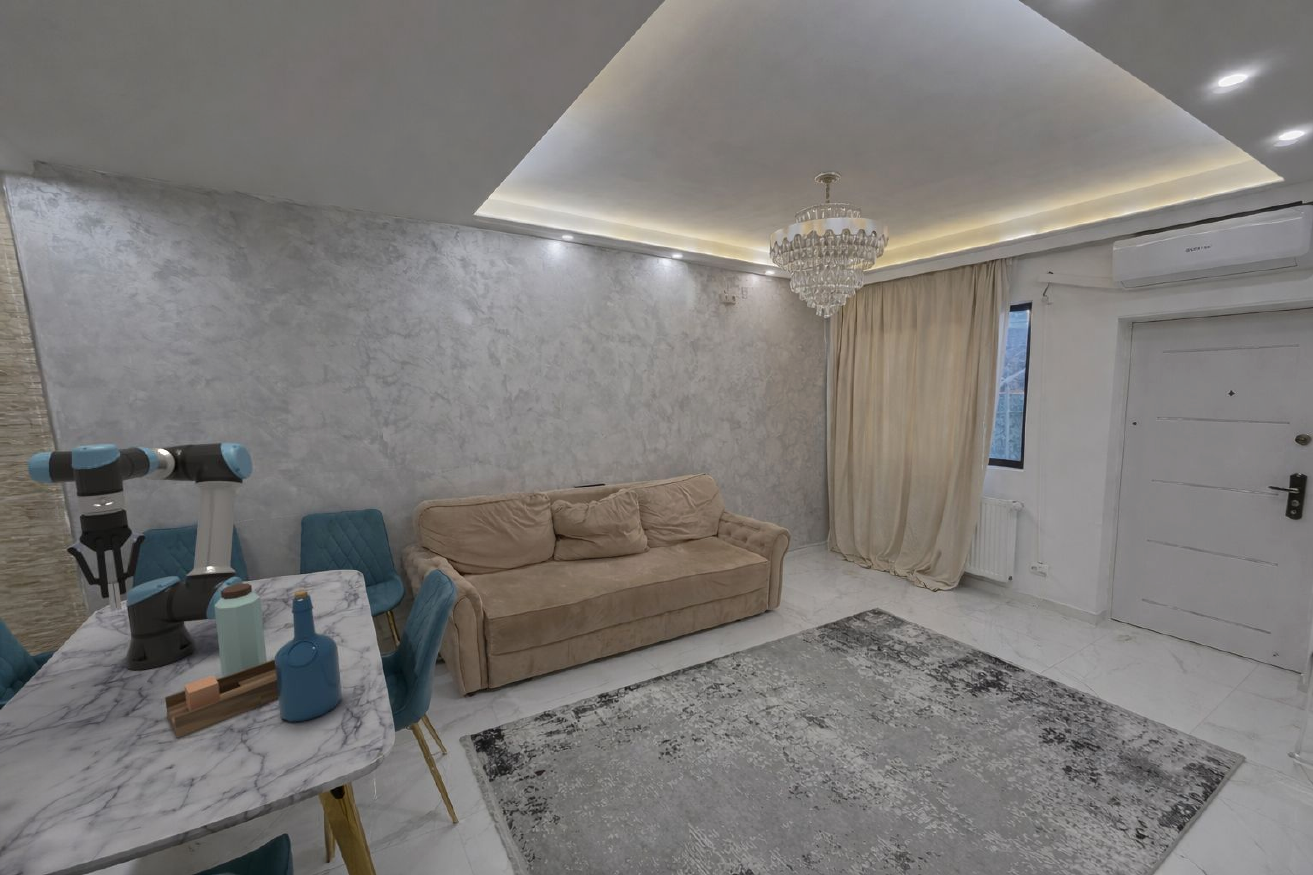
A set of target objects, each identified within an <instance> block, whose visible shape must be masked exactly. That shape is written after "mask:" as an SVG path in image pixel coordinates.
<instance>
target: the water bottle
mask: <svg viewBox="0 0 1313 875" xmlns="http://www.w3.org/2000/svg"><path fill="white" fill-rule="evenodd" d="M252 587H253V586H252V584H250V583H243V584H237V585H233V586H229V587H226V588H224V589H223V590H221V598H220V599H219V601H218V602H217V603H216V604H215V605H214V607H215V616H216V619H215V622H216V625H215V626H216V632H217V640H218V642H217V643H218V649H219V651H218V652H219V660H220V667H221V668H220V670H221V675H222V677H225V676H228V675H231V674H234V673H236V672H239V671H242V670H245V669H248V668H251V667H254V666H257V665H260V664H262V663H265V662H268V660H267V651H266V641H265V640H266V639H265V630H264V623H263V621H264V620H263V613H262V612H263V610H262V601H261V596H259V595H258V594H257V593H255V592H253V590H252V589H253V588H252Z"/></svg>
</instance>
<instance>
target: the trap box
mask: <svg viewBox="0 0 1313 875" xmlns="http://www.w3.org/2000/svg"><path fill="white" fill-rule="evenodd" d="M215 679H216V680H217V682H218V684H219V693H220V700H218V701H216V702H213V703H210V704H208V705H205V706H202V707H200V708H197V709H194V710H191V711H189V709H188V708H187V703H186V695H185V689H184V690H182V691H179V692H176V693H173V694H170V695H167V696H165V697H164V699H165V708H166V713H167V714H166V715H167V719H168V721H169V723H170V725H171V727H172V729H173V732H174V735H175V736H176V738H177V739H180V738H182V737H184V736H187V735H191V734H192V733H196V732H197V731H200V730H202V729H205V728H208V727H210V726H213V725H215V724H218V723H220V722H222V721H225V720H228V719H230V718H233V717H235V716H237V715H240V714H243V713H245V712H248V711H251V710H253V709H256V708H258V707H261V706H263V705H266V704H268V703H271V702H273V701H276V700H278V690H277V680H276V670H275V658H274V659H271V660H269V661H268V660H267V662H265V663H262V664H260V665H257V666H254V667H251V668H248V669H245V670H242V671H239V672H236V673H234V674H231V675H228V676H225V677H224V676H222V677H220V678H215Z"/></svg>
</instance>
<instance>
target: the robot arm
mask: <svg viewBox="0 0 1313 875" xmlns="http://www.w3.org/2000/svg"><path fill="white" fill-rule="evenodd" d="M252 472H253V460H252V457H251V454H250V452H249V451H248V449H247V448H246V447H245V446H244V445H242V444H241V443H236V442H233V443H232V442H218V443H203V444H202V443H201V444H200V443H198V444H183V445H174V446H168V447H155V448H152V447H151V448H148V447H144V446H136V447H135V446H133V447H132V446H131V447H128V448H119V447H118V446H117V445H116V444H113V443H112V444H111V443H106V444H105V443H103V444H88V445H79V446H76V447H74V448H73V449H72V450H63V451H61V450H60V451H53V450H52V451H45V452H42V451H41V452H37V453H35V454H34V455H32V456H31V458H30V459H29V460H28V463H27V473H28V475H29V477H30V478H31V479H32V480H33V481H35V482H37V483H39V484H48V483H49V484H58V483H61V484H62V483H75V488H76V500H77V507H78V513H80V516H79V522H80V529H81V530H80V531H81V535H80V536H79V540H78V541H77V542H75V543H74V544H71V545H67V547H66V551H67V553H69V554H70V555H71V556H73V557H74V559H75V560H76V562H77V564H78V566H79V568H80V569H81V572H82V574H83V575H84V577H85V580H86V581H87V583H88V585H89V586H94V585H95V586H96V585H97V586H99V588H100V596H101V597H102V599H108V602H109V609H110V612H116V611H120V610H122V608H123V607H122V600H121V595H122V596H123V595H126V605H125V607H126V609H127V615H128V623H129V630H130V637H131V639H130V643H129V647H128V650H127V654H126V656H125V666H126V668H127V669H128V670H131V671H143V670H149V669H155V668H160V667H163V666H166V665H169V664H172V663H176V662H178V661H179V660H182V659H184V658H185V657H188V656H189V655H190V654H192V653H193V652H194V651H195V649H196V647H195V646H196V645H195V641H194V640H195V639H194V638H193V637H192V635H191V634H190V632H189V631H188V629H187V626H186V624H185V622H196V621H203V620H204V621H205V620H216V616H215V607H214V605H215V604H216V603H217V602H218V601H219V599H220V598H221V590H223V589H224V588H226V587H229V586H233V585H237V584H244V582H243V580H242V578H241V577H238V576H237V575H236V574H237V572H236V570H235V569H234V568H232V567H231V560H232V559H231V558H232V548H233V546H232V544H233V534H234V533H233V531H234V520H235V519H234V518H235V506H236V493H237V490H238V489H239V488H241V487H242V486H243V484H244V483H243V481H244V480H246V479H248V478H250V477H251V476H252V475H251V474H252ZM139 478H145V479H148V480H151V481H161V480H162V481H176V482H177V481H178V482H194V485H195V486H194V487H197V488H198V489H199V490H200V498H199V510H198V516H197V517H198V518H197V520H198V521H197V529H196V530H197V531H196V540H195V550H194V551H195V552H194V561H193V562H194V563H193V569H192V570H191V571H190V572H189V573H187V574H186V575H185V576H186V578H185V581H181V579H180V577H179V576H175V575H171V576H166V577H165V576H164V577H161V578H157V579H153V580H150V581H147V582H143V583H141V584H139V585H136V586H135V587H132V588H131V589H129V591H128V592H127V585H126V581H127V579H129V578H131V577H134V576H135V575H136V570H137V567H138V566H137V565H138V561H139V555H140V550H141V545H142V544H143V542H144V541H145V539H146V536H145V535H144V533H136V532H133V530H132V529H131V528H130V527H129V521H128V520H129V519H128V514H127V510H126V509H124V508H125V507H126V498H125V497H126V496H125V492H124V485H123V484H124V482H123V481H128V480H133V479H139ZM129 538H130V542H131V548H130V552H129V553H130V554H129V558H128V563H127V569H126V571H124V570H125V569H124V564H123V557H122V549H121V548H122V547H123V546H124V545H125V544H126V542H127V541H128V540H129ZM83 546H85V547H87V548H88V549H90V550H91V551H92V552H94V553H95V554H96V564H97V572H98V577H95V576H94V574H93V572H92V569H91V568H90V566H89V564H88V562H87V560H86V559H85V556H84V555H83V553H82V552H83V551H84V548H83ZM107 551H111V552H112V557H113V563H114V569H115V575H116V576H115V577H116V580H113V581H109V580H108V573H107V572H108V570H107V563H106V554H105V553H106V552H107Z"/></svg>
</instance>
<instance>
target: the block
mask: <svg viewBox="0 0 1313 875" xmlns="http://www.w3.org/2000/svg"><path fill="white" fill-rule="evenodd" d="M216 679H217V678H216V677H215V676H214V675H210V676H206V677H203V678H201V679H198V680H195V681H192V682H190V683H186V684H184V685H183V686H184V687H183V688H184V690H185V695H186V703H187V708H188V709H189V711H191V710H194V709H197V708H200V707H202V706H205V705H208V704H210V703H213V702H216V701H218V700H220V693H219V684H218V682H217V680H216Z"/></svg>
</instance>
